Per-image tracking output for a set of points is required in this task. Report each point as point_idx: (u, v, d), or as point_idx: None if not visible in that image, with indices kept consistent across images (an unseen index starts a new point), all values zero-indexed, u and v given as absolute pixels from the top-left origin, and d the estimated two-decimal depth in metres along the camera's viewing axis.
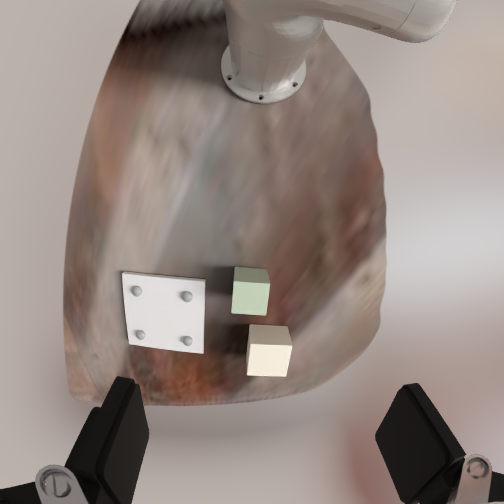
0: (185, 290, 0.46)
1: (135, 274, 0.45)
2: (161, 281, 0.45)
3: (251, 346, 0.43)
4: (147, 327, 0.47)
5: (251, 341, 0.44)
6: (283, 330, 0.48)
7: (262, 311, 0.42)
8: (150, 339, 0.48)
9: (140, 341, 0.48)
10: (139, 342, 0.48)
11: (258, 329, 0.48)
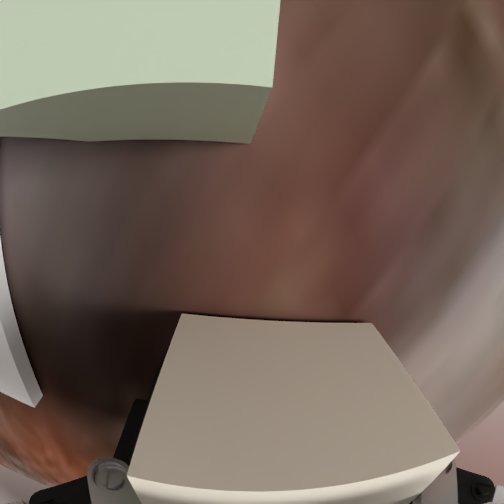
0: None
1: None
2: None
3: (141, 488, 0.04)
4: None
5: (143, 448, 0.04)
6: (365, 347, 0.08)
7: (206, 19, 0.02)
8: None
9: None
10: None
11: (223, 346, 0.08)
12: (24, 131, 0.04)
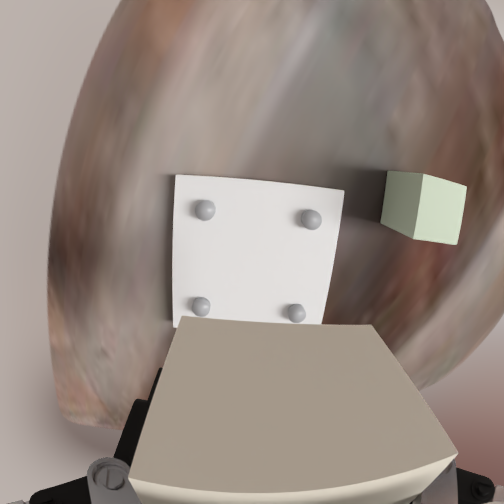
0: (307, 207, 0.24)
1: (204, 176, 0.23)
2: (259, 188, 0.23)
3: (142, 490, 0.04)
4: (217, 290, 0.26)
5: (144, 450, 0.04)
6: (365, 349, 0.08)
7: (453, 237, 0.20)
8: (219, 315, 0.26)
9: None
10: None
11: (223, 348, 0.08)
12: None
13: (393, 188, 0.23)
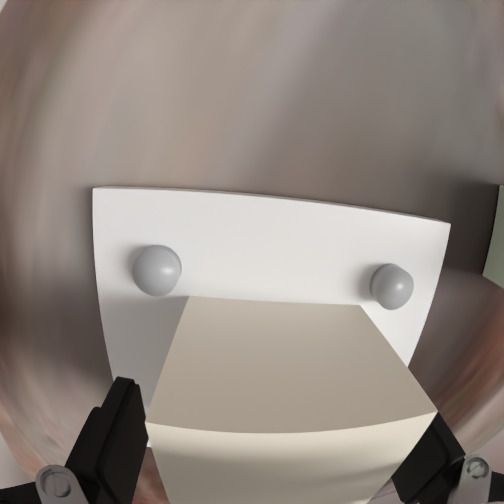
0: (384, 260, 0.10)
1: (154, 189, 0.10)
2: (284, 217, 0.10)
3: (156, 437, 0.05)
4: None
5: (159, 400, 0.05)
6: (353, 323, 0.09)
7: None
8: None
9: None
10: None
11: (226, 321, 0.09)
12: None
13: None
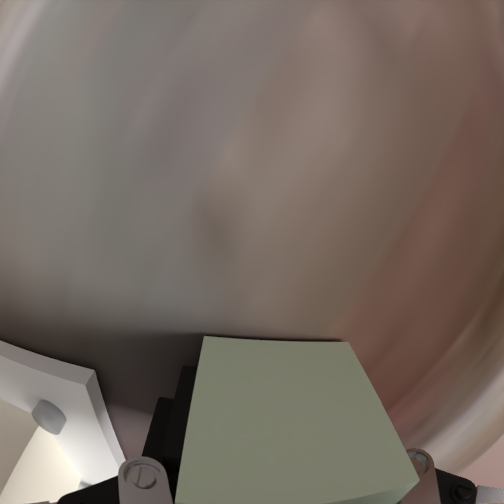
0: (40, 397, 0.09)
1: None
2: None
3: None
4: None
5: None
6: (19, 432, 0.08)
7: None
8: None
9: None
10: None
11: None
12: None
13: None
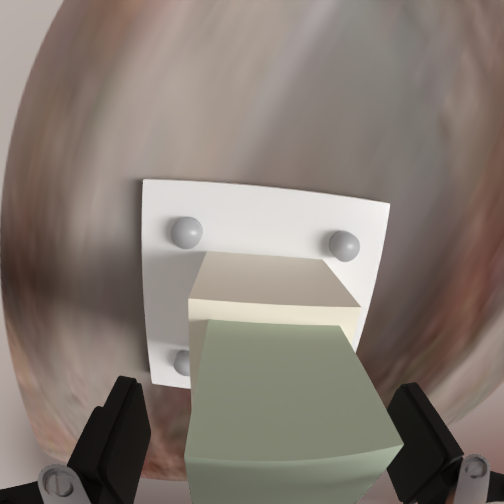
0: (338, 228, 0.16)
1: (185, 181, 0.15)
2: (269, 199, 0.15)
3: (193, 310, 0.10)
4: None
5: (195, 291, 0.11)
6: (314, 267, 0.15)
7: None
8: None
9: (183, 378, 0.18)
10: (180, 380, 0.19)
11: (232, 262, 0.14)
12: None
13: None
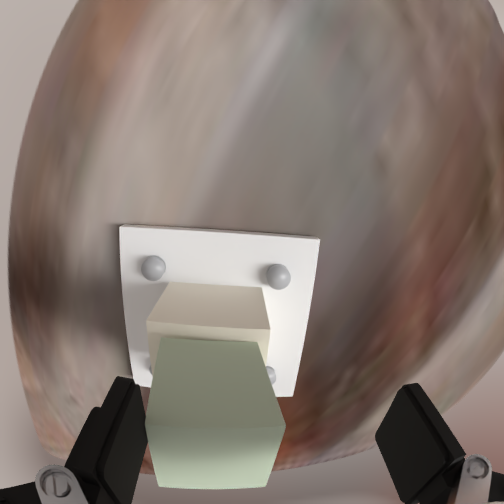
0: (273, 262, 0.20)
1: (151, 227, 0.19)
2: (214, 241, 0.20)
3: (149, 329, 0.14)
4: None
5: (152, 315, 0.15)
6: (250, 295, 0.19)
7: (255, 482, 0.10)
8: None
9: None
10: None
11: (186, 291, 0.19)
12: None
13: None
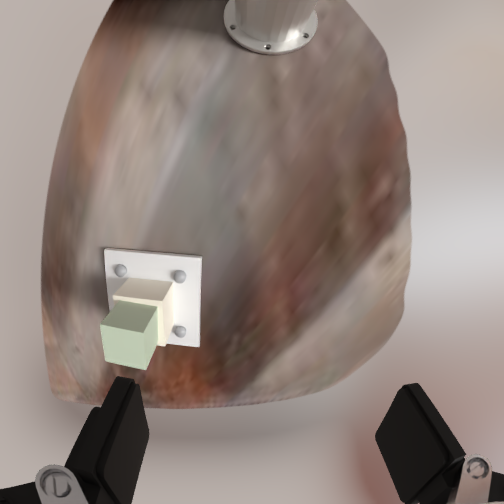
0: (177, 269, 0.38)
1: (119, 250, 0.37)
2: (149, 258, 0.37)
3: (114, 299, 0.33)
4: None
5: (116, 293, 0.33)
6: (164, 285, 0.37)
7: (140, 364, 0.28)
8: None
9: None
10: None
11: (134, 282, 0.37)
12: None
13: None
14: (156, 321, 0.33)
